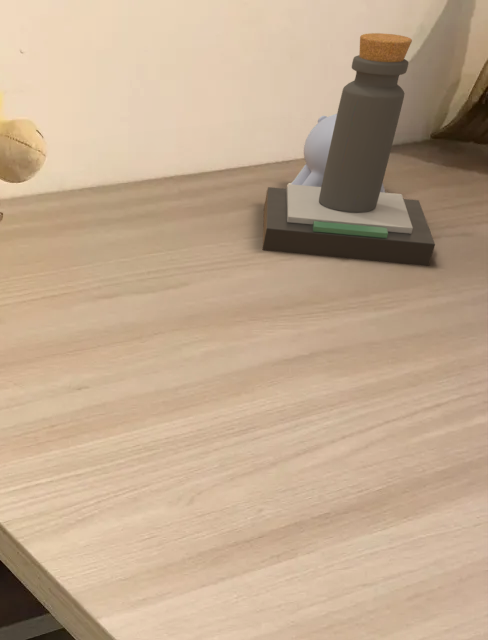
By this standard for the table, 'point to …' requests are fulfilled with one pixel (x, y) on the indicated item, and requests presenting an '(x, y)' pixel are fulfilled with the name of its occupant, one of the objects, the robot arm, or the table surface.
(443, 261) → the table surface
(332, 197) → the bottle
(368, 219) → the scale
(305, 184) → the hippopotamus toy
